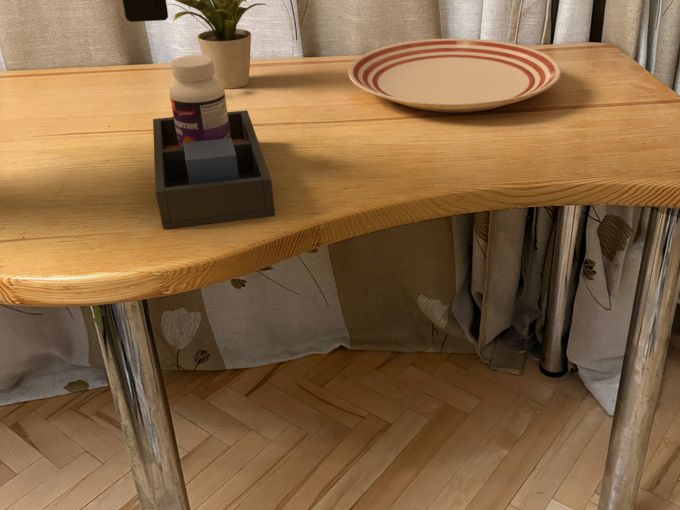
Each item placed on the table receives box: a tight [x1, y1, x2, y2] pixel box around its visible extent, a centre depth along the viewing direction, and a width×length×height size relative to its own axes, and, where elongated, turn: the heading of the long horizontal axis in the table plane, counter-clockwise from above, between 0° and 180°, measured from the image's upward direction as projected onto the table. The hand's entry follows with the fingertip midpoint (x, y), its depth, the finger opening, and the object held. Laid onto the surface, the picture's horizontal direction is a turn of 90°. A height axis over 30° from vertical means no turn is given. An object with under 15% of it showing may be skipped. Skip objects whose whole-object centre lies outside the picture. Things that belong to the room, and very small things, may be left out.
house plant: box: [167, 0, 269, 90], centre depth 98 cm, size 14×14×16 cm
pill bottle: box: [169, 54, 231, 148], centre depth 75 cm, size 5×5×10 cm
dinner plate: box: [348, 38, 562, 114], centre depth 97 cm, size 28×27×3 cm
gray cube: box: [184, 138, 239, 185], centre depth 70 cm, size 4×4×4 cm
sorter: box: [152, 110, 276, 230], centre depth 74 cm, size 10×19×4 cm, turn 15°
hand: (147, 6), depth 62 cm, fingers open, 9 cm apart
